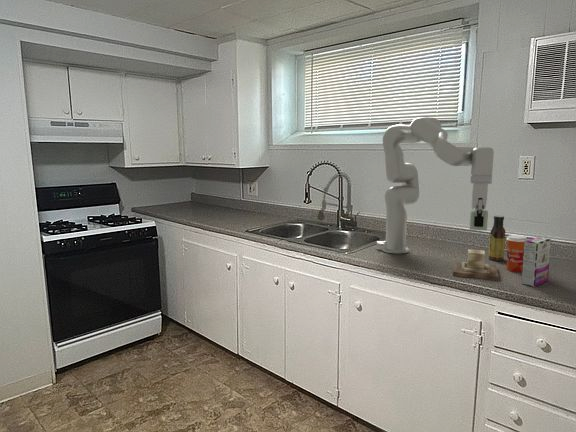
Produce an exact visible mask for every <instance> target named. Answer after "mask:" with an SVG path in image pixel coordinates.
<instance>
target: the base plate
mask: <svg viewBox="0 0 576 432" xmlns="http://www.w3.org/2000/svg"><path fill="white" fill-rule="evenodd" d="M453 264H454V265H453V273H452V275H453V276H454V277H463V278H470V279H471V278H472V279H473V278H474V279H480V280H481V279H482V280H490V281H491V280H493V281H500V280H499V278H500V276H499V271H498V268H497V267H498V266H497V265H496V264H488V263H484V270H482V269H471V268H467V262H466V261H454V263H453Z"/></svg>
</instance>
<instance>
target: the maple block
mask: <svg viewBox="0 0 576 432" xmlns="http://www.w3.org/2000/svg"><path fill="white" fill-rule="evenodd" d="M485 253H486V252H485V250H482V249H469V248H468V249H467V260H466V261H467V268H471V269H482V270H484V264H485V259H486V254H485Z"/></svg>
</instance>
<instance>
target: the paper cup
mask: <svg viewBox="0 0 576 432" xmlns="http://www.w3.org/2000/svg"><path fill="white" fill-rule="evenodd" d="M505 240H506V270H507V271H509V272H514V273H522V269H523V254H524V241H526V240H528V237H527V236H525V235H518V234H509V235H508V236H507V237H505Z"/></svg>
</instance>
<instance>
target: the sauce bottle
mask: <svg viewBox="0 0 576 432" xmlns="http://www.w3.org/2000/svg"><path fill="white" fill-rule="evenodd" d="M504 220H505V216H504V215H501V214H497V215H496V214H495V215H493V225H492V228H491V230H490V232H489V242H488V243H489V245H488V259H489V260H492V261H497V262H501V261H504V258H505V249H506V235H507V234H506V233H507V232H506V229H505V228H504Z"/></svg>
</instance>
